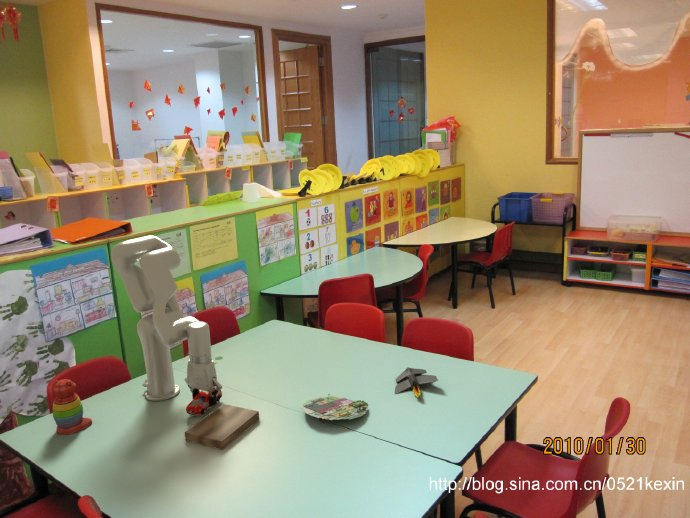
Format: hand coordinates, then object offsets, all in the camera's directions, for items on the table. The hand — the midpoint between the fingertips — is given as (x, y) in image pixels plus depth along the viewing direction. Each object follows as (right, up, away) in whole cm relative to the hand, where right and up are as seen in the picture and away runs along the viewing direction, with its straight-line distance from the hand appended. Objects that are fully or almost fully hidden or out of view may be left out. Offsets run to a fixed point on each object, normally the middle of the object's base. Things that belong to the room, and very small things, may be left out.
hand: (204, 402), depth 206 cm
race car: (0, -1, 0) cm, 1 cm away
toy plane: (+75, +4, +10) cm, 76 cm away
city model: (+47, -2, -6) cm, 48 cm away
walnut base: (+10, -5, -14) cm, 18 cm away
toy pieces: (-8, +7, +43) cm, 44 cm away
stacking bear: (-44, -7, -7) cm, 45 cm away
